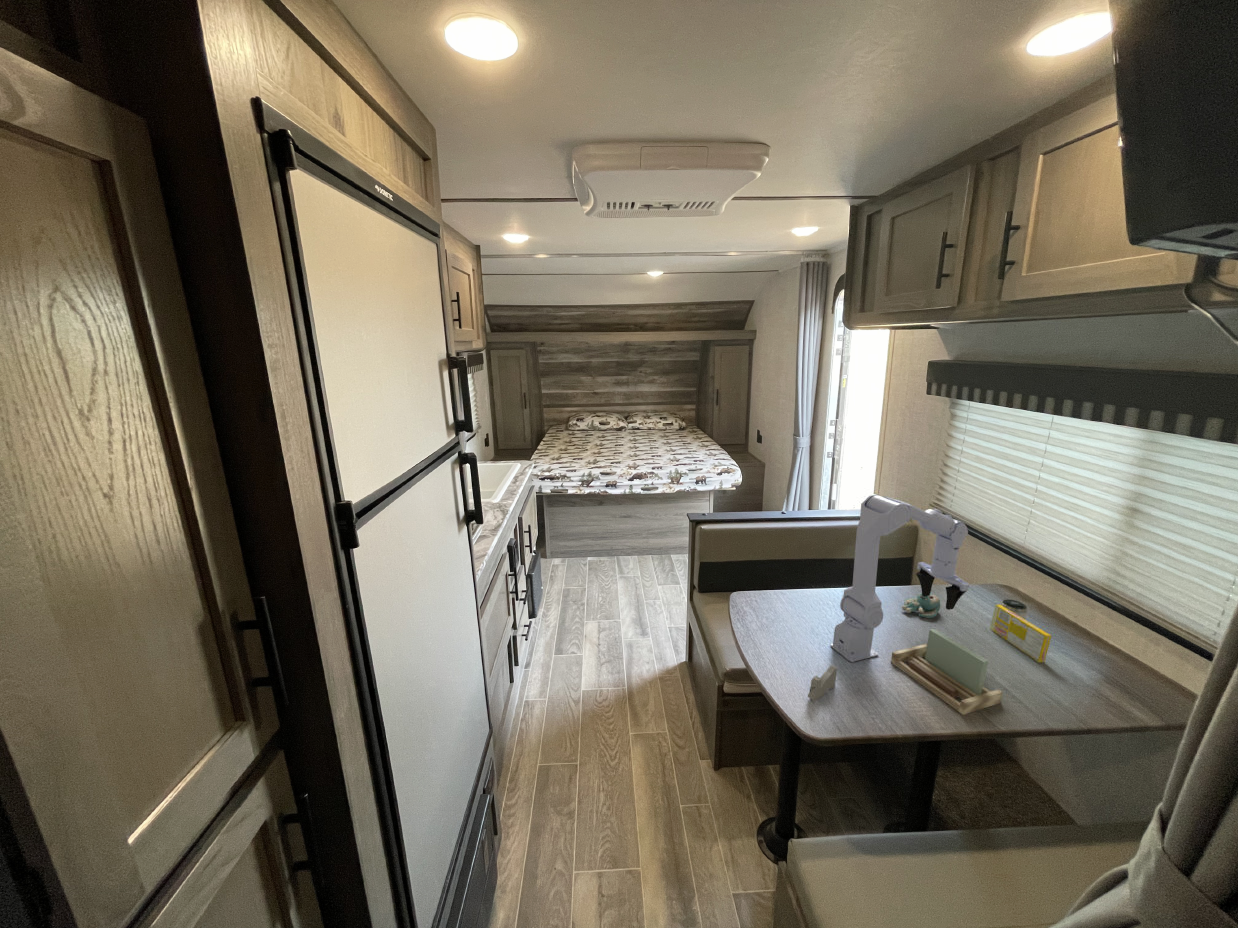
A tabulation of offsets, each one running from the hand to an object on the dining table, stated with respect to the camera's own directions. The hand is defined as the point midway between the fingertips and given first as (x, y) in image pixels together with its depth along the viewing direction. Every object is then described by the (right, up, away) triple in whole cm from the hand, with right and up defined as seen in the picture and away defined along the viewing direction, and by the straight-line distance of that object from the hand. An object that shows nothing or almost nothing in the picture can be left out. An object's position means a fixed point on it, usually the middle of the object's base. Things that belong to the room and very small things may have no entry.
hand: (937, 601), depth 140 cm
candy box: (+20, -11, -3) cm, 23 cm away
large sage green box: (-8, -15, -17) cm, 24 cm away
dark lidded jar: (+25, -9, +6) cm, 28 cm away
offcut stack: (-14, -15, -19) cm, 28 cm away
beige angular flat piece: (-43, -16, -22) cm, 51 cm away
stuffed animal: (+4, -7, +14) cm, 16 cm away
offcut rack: (-10, -15, -18) cm, 25 cm away
